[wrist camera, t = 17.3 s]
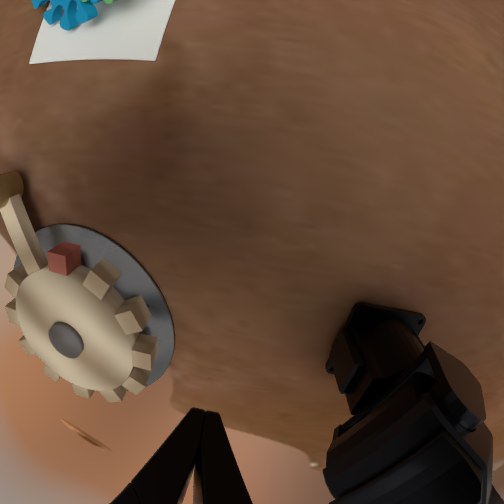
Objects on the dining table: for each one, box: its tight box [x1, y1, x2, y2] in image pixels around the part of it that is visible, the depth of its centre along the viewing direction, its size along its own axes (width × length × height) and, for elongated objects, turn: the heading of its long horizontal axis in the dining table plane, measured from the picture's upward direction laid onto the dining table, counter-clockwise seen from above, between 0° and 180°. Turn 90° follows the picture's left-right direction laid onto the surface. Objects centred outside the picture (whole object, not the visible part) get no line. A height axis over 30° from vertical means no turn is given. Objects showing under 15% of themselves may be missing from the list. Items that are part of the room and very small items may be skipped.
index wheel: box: [0, 171, 158, 402], centre depth 17 cm, size 14×18×7 cm
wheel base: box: [14, 224, 175, 391], centre depth 21 cm, size 16×16×1 cm
